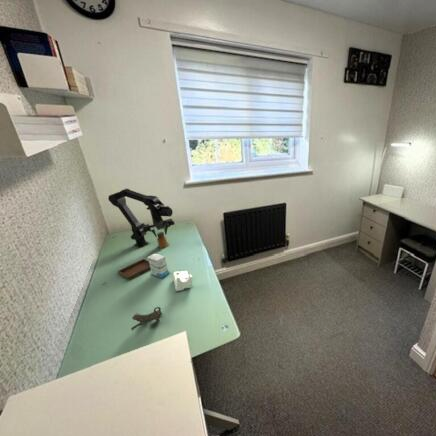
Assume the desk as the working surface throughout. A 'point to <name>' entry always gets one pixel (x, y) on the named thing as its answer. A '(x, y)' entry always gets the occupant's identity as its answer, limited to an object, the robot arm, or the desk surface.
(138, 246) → the robot arm
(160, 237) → the cap
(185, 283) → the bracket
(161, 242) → the bottle
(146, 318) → the dog figurine
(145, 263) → the tray
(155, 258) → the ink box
